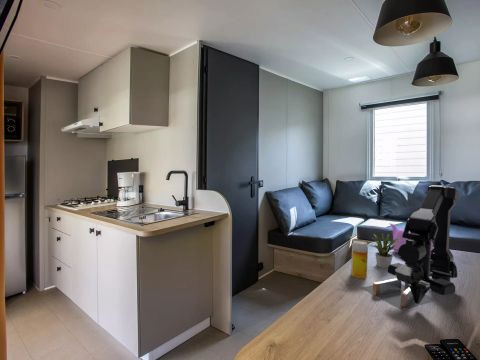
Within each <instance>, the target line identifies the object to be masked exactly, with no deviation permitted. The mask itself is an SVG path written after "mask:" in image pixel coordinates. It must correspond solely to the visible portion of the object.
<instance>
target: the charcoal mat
mask: <svg viewBox="0 0 480 360" xmlns="http://www.w3.org/2000/svg"><path fill="white" fill-rule="evenodd" d="M404 288H405V284H402V283H401V290H397V291H392V292H388V293H384V294H380V295H376V296H375V295H373V284H371V285H368V286H363V287H360V289H361V290H363V291H365V292H367V293H369V294H371V295H373V296H374V297H377V298H378V299H380V300H382V301H384V302H385V303H388V304H389V305H391V306H393V307H396V308H397V309H399V310H401V311H404V310H406V309H411V308H413V307H417V306H421V305H422V306H423V305H425V304H429V303H432V302H437V301H438V299H436V298H434V297H431V296H430V295H428V294H425V296H424V297H423V299H422V300H421V302H420V303H419V304H416V303H415V301H414V299H413V300H412V301H411V302H410V303H409V304H408V305H407V306H406V307H405V308H404V307H401V306H400V302H401V294H402V293H403V292H404V291H405V289H404Z"/></svg>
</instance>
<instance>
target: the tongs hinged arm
mask: <svg viewBox="0 0 480 360" xmlns="http://www.w3.org/2000/svg"><path fill="white" fill-rule="evenodd" d="M404 285H405V288H404V289H405V291H404V292H403V293H402V294H401V302H400V306H401V307H404V308H405V307H406V306H407V305H408V304H409V303H410V302H411V301H412V300H413V299H414V298H413V295H412V292H411V290H410V287H409V285H408V284H406V283H405V282H404Z"/></svg>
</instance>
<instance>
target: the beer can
mask: <svg viewBox="0 0 480 360" xmlns="http://www.w3.org/2000/svg"><path fill="white" fill-rule="evenodd" d="M351 244H352V245H351V262H350V263H351V265H350V267H351V268H350V275H351V276H352V277H355V278H358V279H366V278H367V277H368V274H367V273H368V254H369V253H368V252H369V251H368V250H369V246H368V243H367V242H366V241H362V240H353V242H352V243H351Z"/></svg>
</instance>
